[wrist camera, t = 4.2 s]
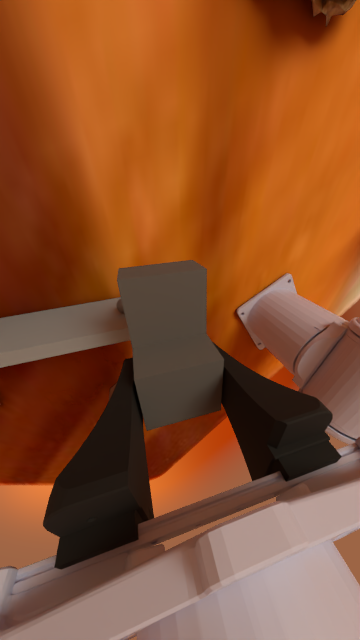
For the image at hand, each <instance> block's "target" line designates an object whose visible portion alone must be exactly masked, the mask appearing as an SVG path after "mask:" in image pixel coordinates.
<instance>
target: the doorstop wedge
mask: <svg viewBox="0 0 360 640" xmlns="http://www.w3.org/2000/svg"><path fill="white" fill-rule="evenodd" d="M117 282H118V287H119V291H120V295H121V300H122V304H123V309H124V313H125V317H126V322H127V326H128V330H129V335H130V339H131V344H132V348H133V368H134V381H135V385H136V389H137V393H138V397H139V401H140V405H141V409H142V413H143V418H144V422H145V426H146V430H147V431H148V430H151V429H155V428H158V427H162V426H165V425H169V424H173V423H176V422H180V421H183V420H187V419H191V418H194V417H198V416H201V415H205V414H209V413H212V412H216V411H219V410H221V399H222V384H223V368H224V358H223V357H222V356H221V354H220V353H219V351H218V350H217V348H216V347H215V346H214V344H213V343H212V341H211V340H210V338H209V337H208V336H207V334H206V284H207V269H206V268H204V267H203V266H201V265H200V264H198V263H196V262H195V261H193V260H188V261H179V262H171V263H162V264H154V265H145V266H136V267H128V268H119V271H118V277H117Z"/></svg>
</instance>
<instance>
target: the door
mask: <svg viewBox="0 0 360 640" xmlns="http://www.w3.org/2000/svg"><path fill="white" fill-rule="evenodd" d="M128 340H131V339H130V335H129V330H128V326H127V322H126V317H125V313H124V309H123V304H122V300H121V297H120V298H114V299H109V300H103V301H97V302H91V303H86V304H80V305H74V306H68V307H63V308H57V309H51V310H45V311H39V312H34V313H28V314H22V315H16V316H11V317H5V318H0V368H1V367H6V366H11V365H15V364H20V363H25V362H29V361H34V360H39V359H44V358H48V357H53V356H58V355H62V354H67V353H72V352H76V351H81V350H86V349H91V348H95V347H100V346H105V345H109V344H114V343H119V342H124V341H128Z"/></svg>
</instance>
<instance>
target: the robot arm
mask: <svg viewBox="0 0 360 640" xmlns="http://www.w3.org/2000/svg"><path fill="white" fill-rule="evenodd" d="M288 280H289V281H288ZM236 312H237V314H238V316H239V317H240V319H241V321H242V322H243V324H244V326H245V328H246V329H247V331H248V333H249V334H250V336H251V338H252V339H253V341H254V343H255V344H256V346H257V348H258V349H259V350H262V349H263V348H265V347H266V348H267V349H268V350H269V351H270V352H271V353H272V354H273V355H274V356H275V357H276V358H277V359H278V360H279V361H280V362H281V363H282V364H283V365H284V366H285V367H286V368H287V369H288V370H289V371H290V372H291V373H292V374H293V375H294V378H293V379H292V380H293V381H294V382H295V383H296V384H297V385H298V386H299V388H300V389H299V391H295V390H293V389H290V388H288V387H285V386H282V385H280V384H278V383H276V382H274V381H271V380H269V379H267V378H265V377H263V376H261V375H259V374H258V373H256V372H254V371H252V370H251V369H249V368H247V367H246V366H244V365H243V364H241V363H240V362H238V361H237V360H235V359H234V358H233V357H231V356H230V355H228V354H227V353H226V352H225V351H223V350H222V349H221V348H219V347H218V346H217V345H216V344H215V343H213V342H212V343H213V344H214V346H215V347H216V348H217V350H218V351H219V353H220V354H221V356H222V357H223V358H224V368H223V384H222V399H221V403H222V405H223V407H224V409H225V411H226V413H227V416H228V418H229V420H230V423H231V425H232V428H233V430H234V433H235V435H236V437H237V440H238V443H239V445H240V448H241V450H242V453H243V456H244V459H245V461H246V464H247V467H248V470H249V473H250V475H251V478H252V482H249V483H247V484H244V485H241V486H239V487H236V488H233V489H231V490H228V491H225V492H223V493H220V494H217V495H215V496H212V497H209V498H207V499H204V500H201V501H199V502H196V503H193V504H191V505H188V506H185V507H183V508H180V509H177V510H175V511H172V512H169V513H167V514H164V515H162V516H159V517H156V518H154V514H153V508H152V499H151V492H150V484H149V476H148V468H147V460H146V451H145V443H144V433H143V413H142V409H141V405H140V401H139V397H138V393H137V389H136V385H135V381H134V368H133V358H129V359H125V360H124V363H123V367H122V370H121V373H120V376H119V379H118V382H117V384H116V387H115V389H114V391H113V394H112V396H111V398H110V400H109V402H108V404H107V406H106V408H105V410H104V412H103V413H102V415H101V417H100V419H99V420H98V422H97V424H96V425H95V427H94V429H93V430H92V432H91V433H90V435H89V436H88V438H87V439H86V440H85V442H84V443H83V445H82V446H81V447H80V449H79V450H78V452H77V453H76V454H75V456H74V457H73V458H72V459H71V461H70V462H69V463H68V464H67V466H66V467H65V468H64V469H63V471H62V472H61V473H60V474H59V476H58V477H57V478H56V480H55V483H54V486H53V489H52V492H51V495H50V497H49V501H48V505H47V509H46V514H45V517H44V521H43V526H44V527H45V529H46V530H47V531H49V532H51V533H53V534H55V535H57V536H59V537H60V539H59V545H58V550H57V555H55V556H52V557H50V558H47V559H44V560H41V561H39V562H36V563H33V564H31V565H28V566H26V567H23V568H20V569H17V568H15V567H12V566H8V567H2V568H0V640H129V639H131V638H133V637H135V636H137V640H360V586H359V584H358V583H357V581H356V579H355V578H354V576H353V574H352V573H351V571H350V570H349V568H348V566H347V565H346V563H345V561H344V560H343V558H342V557H341V555H340V553H339V552H338V550H337V549H336V547H335V545H334V544H333V542H334V541H336V540H338V539H340V538H342V537H344V536H346V535H348V534H350V533H352V532H354V531H356V530H358V529H360V317H359V318H358V317H357V318H353V319H351V321H350V322H348V321H346V320H345V319H343V318H341V317H339V316H337V315H335V314H333V313H331V312H330V311H328V310H326V309H324V308H322V307H320V306H318V305H316V304H314V303H313V302H311V301H309V300H307V299H305V298H303V297H301V296H299V295H297V292H296V289H295V285H294V282H293V279H292V275H291V274H285V275H284V276H282V277H281V278H280V279H278V280H277V281H275V282H274V283H273V284H271V285H270V286H268V287H267V288H266V289H264V290H263V291H261V292H260V293H259V294H257V295H256V296H254V297H253V298H252V299H250V300H249V301H247V302H246V303H245V304H243V305H242V306H240V307H239V308H238V309H237V311H236ZM241 313H242V314H241ZM325 432H326V433H328V434H329V435H331V436H333V437H334V438H337V439H338V440H340V441H342V442H344V443H347V444H349V445H348V446H345V447H342V448H340V449H337V450H336V449H335V448H334V447H333V446H332V445H331V443H330V442H329V440H330V437H329V436H328V435H327V434H326V433H325ZM278 495H279V496H278ZM276 496H277V497H276ZM273 497H276V502H273V503H270V504H268V505H266V506H263V507H260V508H258V509H255V510H253V511H250V512H248V513H246V514H243V515H241V516H238V517H236V518H233V519H231V520H229V521H226V522H223V523H221V524H219V525H216V526H214V527H212V528H210V529H208V530H207V531H205V532H203V533H201V534H199V535H197V536H195V537H193V538H191V539H189V540H187V541H185V542H183V543H181V544H179V545H177V546H175V547H172V548H171V549H168V550H167V551H165V548H164V545H163V544H160V545H156V544H159V543H161V542H164V541H166V540H169V539H171V538H174V537H176V536H179V535H181V534H184V533H186V532H188V531H191V530H193V529H196V528H198V527H201V526H203V525H206V524H208V523H211V522H213V521H216V520H218V519H221V518H223V517H226V516H228V515H231V514H233V513H236V512H238V511H241V510H243V509H246V508H248V507H251V506H253V505H256V504H258V503H261V502H263V501H266V500H268V499H271V498H273ZM154 545H156V546H154Z"/></svg>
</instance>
